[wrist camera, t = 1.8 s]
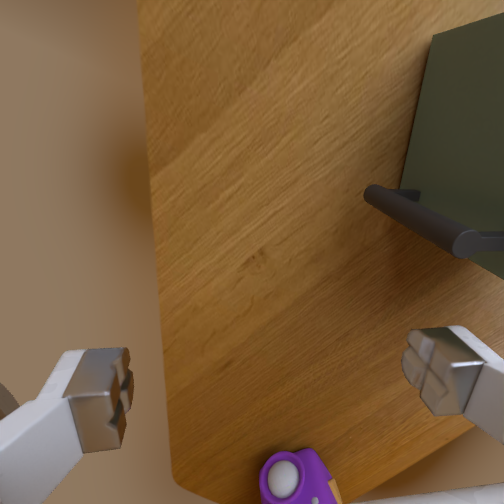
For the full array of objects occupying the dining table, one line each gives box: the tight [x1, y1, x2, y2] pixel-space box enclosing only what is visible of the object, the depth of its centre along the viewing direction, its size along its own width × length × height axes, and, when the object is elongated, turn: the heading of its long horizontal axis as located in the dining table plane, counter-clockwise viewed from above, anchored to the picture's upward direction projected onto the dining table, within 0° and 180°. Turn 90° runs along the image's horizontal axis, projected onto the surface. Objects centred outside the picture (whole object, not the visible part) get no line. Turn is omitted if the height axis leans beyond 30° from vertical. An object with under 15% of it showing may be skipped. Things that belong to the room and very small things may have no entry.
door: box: [363, 12, 504, 280], centre depth 22 cm, size 6×16×17 cm, turn 178°
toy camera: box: [259, 448, 343, 504], centre depth 44 cm, size 11×14×10 cm
